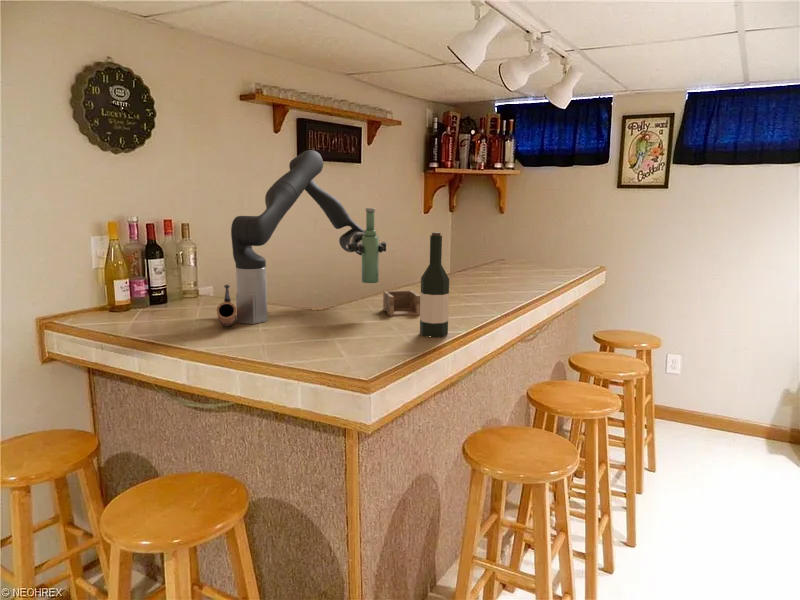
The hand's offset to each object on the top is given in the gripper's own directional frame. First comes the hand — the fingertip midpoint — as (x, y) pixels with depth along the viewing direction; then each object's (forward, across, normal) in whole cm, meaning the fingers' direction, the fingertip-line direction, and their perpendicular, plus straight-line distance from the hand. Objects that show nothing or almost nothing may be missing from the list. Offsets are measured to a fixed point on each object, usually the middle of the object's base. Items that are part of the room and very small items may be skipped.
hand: (371, 249), depth 192 cm
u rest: (-6, +12, +23) cm, 26 cm away
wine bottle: (+25, +13, +23) cm, 36 cm away
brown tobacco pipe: (-2, -46, +23) cm, 51 cm away
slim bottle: (-3, 0, +11) cm, 11 cm away
